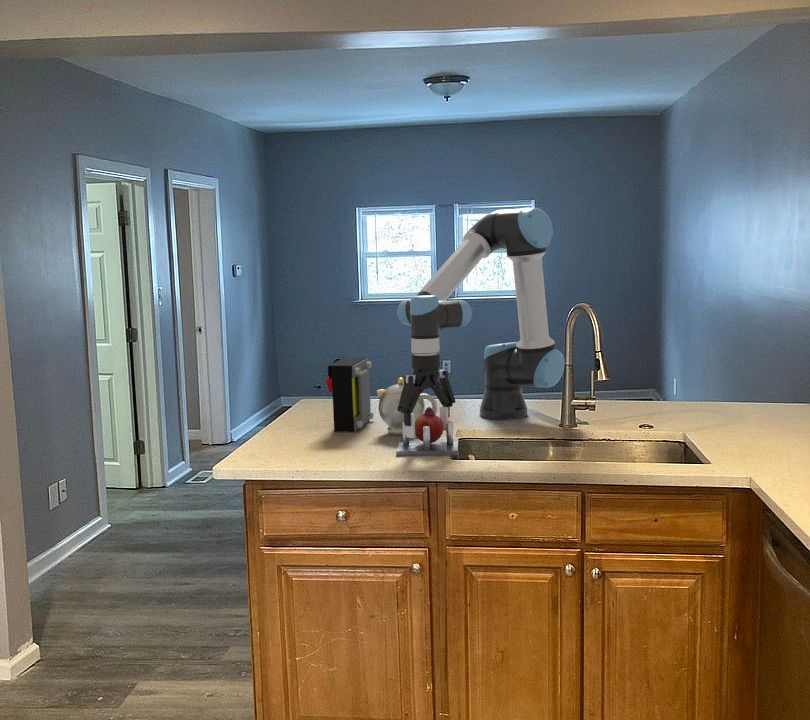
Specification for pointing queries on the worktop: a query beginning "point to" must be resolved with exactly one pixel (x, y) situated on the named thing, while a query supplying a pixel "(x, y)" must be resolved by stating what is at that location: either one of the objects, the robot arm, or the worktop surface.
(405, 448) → the grey square pegged plate
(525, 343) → the robot arm
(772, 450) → the worktop surface
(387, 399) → the teapot
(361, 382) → the electrical component
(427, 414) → the fruit
